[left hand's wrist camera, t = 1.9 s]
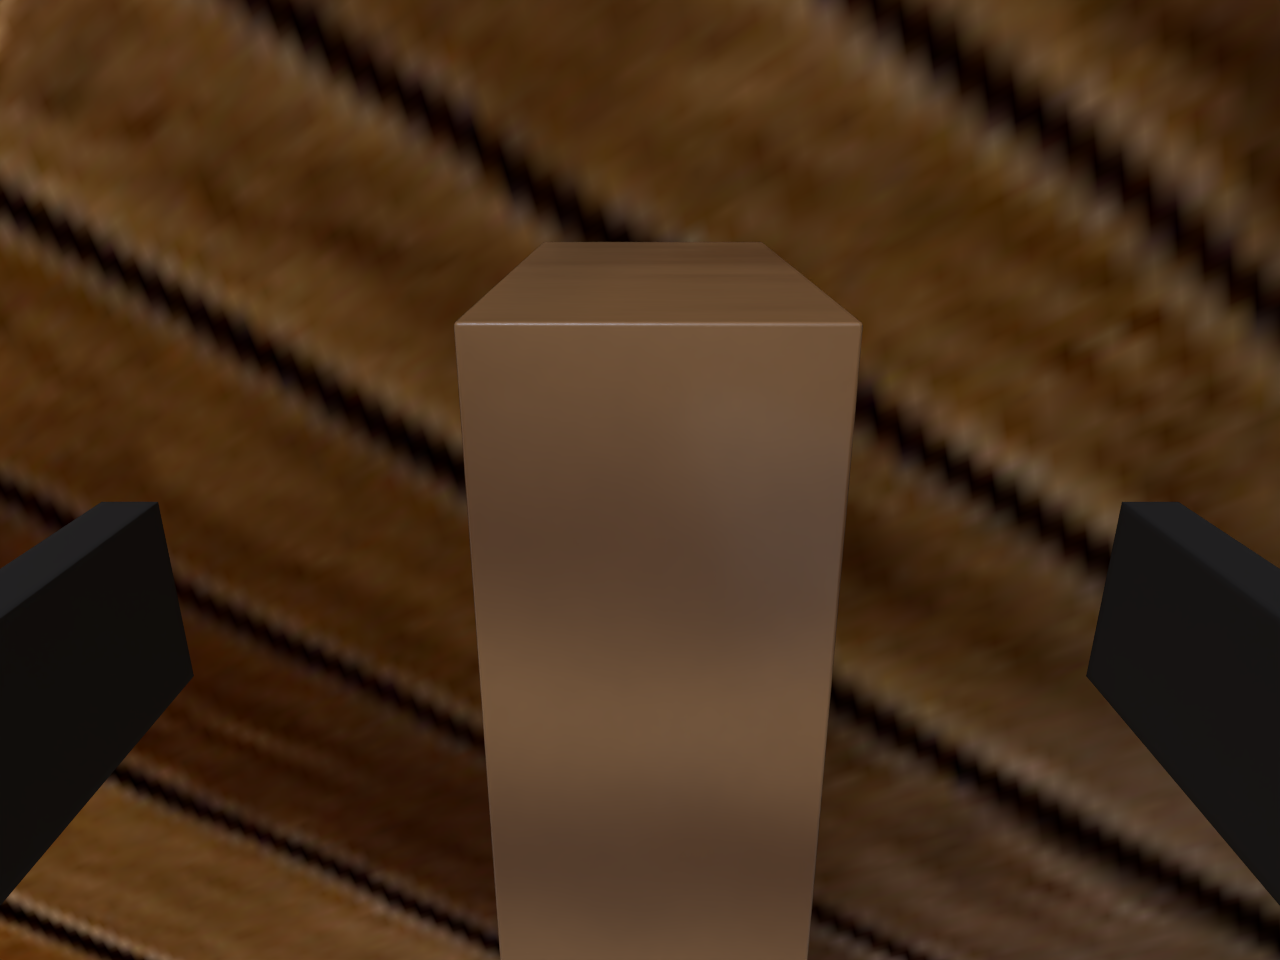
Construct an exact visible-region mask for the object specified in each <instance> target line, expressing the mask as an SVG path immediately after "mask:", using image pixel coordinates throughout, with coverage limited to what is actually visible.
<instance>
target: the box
mask: <svg viewBox="0 0 1280 960" xmlns="http://www.w3.org/2000/svg"><path fill="white" fill-rule="evenodd" d="M862 328H863V326H862V323H861V322H860V321H859V320H857V319H856V318H855V317H854V316H853V315H851V314H850V313H849V312H848V311H846V310H845V309H844V308H843V307H841V306H840V305H839V304H838V303H836V302H835V301H834V300H833V299H831V298H830V297H829V296H828V295H827V294H825V293H824V292H823V291H822V290H820V289H819V288H818V287H817V286H815V285H814V284H813V283H812V282H810V281H809V280H808V279H807V278H805V277H804V276H803V275H802V274H801V273H799V272H798V271H797V270H796V269H794V268H793V267H792V266H791V265H789V264H788V263H787V262H786V261H784V260H783V259H782V258H781V257H779V256H778V255H777V254H776V253H774V252H773V251H772V250H771V249H770V248H768V247H767V246H766V245H765V244H763V243H762V242H544V243H542V244H541V245H540V246H539V247H538V248H537V249H536V250H535V251H534V252H532V253H531V254H530V255H529V256H528V257H527V258H526V259H525V260H524V261H522V262H521V263H520V264H519V265H518V266H517V267H516V268H515V269H514V270H513V271H511V272H510V273H509V274H508V275H507V276H506V277H505V278H504V279H503V280H501V281H500V282H499V283H498V284H497V285H496V286H495V287H494V288H493V289H491V290H490V291H489V292H488V293H487V294H486V295H485V296H484V297H483V298H482V299H480V300H479V301H478V302H477V303H476V304H475V305H474V306H473V307H472V308H470V309H469V310H468V311H467V312H466V313H465V314H464V315H463V316H462V317H461V318H459V319H458V320H457V321H456V322H455V324H454V333H455V347H456V360H457V374H458V388H459V401H460V415H461V429H462V442H463V456H464V470H465V483H466V497H467V510H468V524H469V538H470V551H471V565H472V579H473V592H474V606H475V619H476V633H477V647H478V660H479V674H480V688H481V701H482V715H483V729H484V742H485V756H486V769H487V783H488V797H489V810H490V824H491V838H492V851H493V865H494V878H495V892H496V906H497V919H498V933H499V947H500V960H807V959H808V947H809V936H810V924H811V913H812V901H813V890H814V878H815V867H816V855H817V844H818V832H819V821H820V810H821V798H822V787H823V775H824V764H825V752H826V741H827V729H828V718H829V706H830V695H831V684H832V672H833V661H834V649H835V638H836V626H837V615H838V603H839V592H840V580H841V569H842V557H843V546H844V535H845V523H846V512H847V500H848V489H849V477H850V466H851V454H852V443H853V431H854V420H855V408H856V397H857V386H858V374H859V363H860V351H861V340H862Z"/></svg>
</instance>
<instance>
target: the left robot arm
mask: <svg viewBox="0 0 1280 960" xmlns="http://www.w3.org/2000/svg"><path fill="white" fill-rule="evenodd" d="M193 676H194V675H193V670H192V665H191V661H190V656H189V651H188V646H187V641H186V636H185V631H184V626H183V622H182V617H181V612H180V607H179V602H178V597H177V592H176V587H175V583H174V578H173V573H172V568H171V563H170V558H169V553H168V549H167V544H166V539H165V534H164V529H163V524H162V519H161V514H160V510H159V505H158V502H101V503H99V504H98V505H96V506H95V507H93V508H92V509H90V510H89V511H87V512H86V513H84V514H83V515H81V516H80V517H78V518H77V519H75V520H74V521H72V522H71V523H69V524H68V525H66V526H65V527H63V528H62V529H60V530H59V531H57V532H56V533H54V534H53V535H51V536H50V537H48V538H47V539H45V540H43V541H42V542H40V543H39V544H37V545H36V546H34V547H33V548H31V549H30V550H28V551H27V552H25V553H24V554H22V555H21V556H19V557H18V558H16V559H15V560H13V561H12V562H10V563H9V564H7V565H6V566H4V567H3V568H1V569H0V905H1V904H2V903H3V902H4V900H5V899H6V898H7V897H8V896H9V894H10V893H11V892H12V891H13V890H14V889H15V887H16V886H17V885H18V884H19V883H20V881H21V880H22V879H23V878H24V877H25V876H26V874H27V873H28V872H29V871H30V870H31V868H32V867H33V866H34V865H35V864H36V862H37V861H38V860H39V859H40V858H41V857H42V855H43V854H44V853H45V852H46V851H47V849H48V848H49V847H50V846H51V845H52V843H53V842H54V841H55V840H56V839H57V838H58V836H59V835H60V834H61V833H62V832H63V830H64V829H65V828H66V827H67V826H68V824H69V823H70V822H71V821H72V820H73V819H74V817H75V816H76V815H77V814H78V813H79V811H80V810H81V809H82V808H83V807H84V805H85V804H86V803H87V802H88V801H89V800H90V798H91V797H92V796H93V795H94V794H95V792H96V791H97V790H98V789H99V788H100V787H101V785H102V784H103V783H104V782H105V781H106V779H107V778H108V777H109V776H110V775H111V773H112V772H113V771H114V770H115V769H116V768H117V766H118V765H119V764H120V763H121V762H122V760H123V759H124V758H125V757H126V756H127V754H128V753H129V752H130V751H131V750H132V749H133V747H134V746H135V745H136V744H137V743H138V741H139V740H140V739H141V738H142V737H143V735H144V734H145V733H146V732H147V731H148V730H149V728H150V727H151V726H152V725H153V724H154V722H155V721H156V720H157V719H158V718H159V717H160V715H161V714H162V713H163V712H164V711H165V709H166V708H167V707H168V706H169V705H170V703H171V702H172V701H173V700H174V699H175V698H176V696H177V695H178V694H179V693H180V692H181V690H182V689H183V688H184V687H185V686H186V684H187V683H188V682H189V681H190V680H191V679H192V677H193ZM1086 676H1087V677H1088V679H1089V680H1090V681H1091V682H1092V683H1093V684H1094V686H1095V687H1096V688H1097V689H1098V690H1099V692H1100V693H1101V694H1102V695H1103V696H1104V698H1105V699H1106V700H1107V701H1108V702H1109V703H1110V705H1111V706H1112V707H1113V708H1114V709H1115V711H1116V712H1117V713H1118V714H1119V715H1120V717H1121V718H1122V719H1123V720H1124V721H1125V722H1126V724H1127V725H1128V726H1129V727H1130V728H1131V730H1132V731H1133V732H1134V733H1135V734H1136V735H1137V737H1138V738H1139V739H1140V740H1141V741H1142V743H1143V744H1144V745H1145V746H1146V747H1147V749H1148V750H1149V751H1150V752H1151V753H1152V754H1153V756H1154V757H1155V758H1156V759H1157V760H1158V762H1159V763H1160V764H1161V765H1162V766H1163V768H1164V769H1165V770H1166V771H1167V772H1168V773H1169V775H1170V776H1171V777H1172V778H1173V779H1174V781H1175V782H1176V783H1177V784H1178V785H1179V787H1180V788H1181V789H1182V790H1183V791H1184V792H1185V794H1186V795H1187V796H1188V797H1189V798H1190V800H1191V801H1192V802H1193V803H1194V804H1195V806H1196V807H1197V808H1198V809H1199V810H1200V811H1201V813H1202V814H1203V815H1204V816H1205V817H1206V819H1207V820H1208V821H1209V822H1210V823H1211V824H1212V826H1213V827H1214V828H1215V829H1216V830H1217V832H1218V833H1219V834H1220V835H1221V836H1222V838H1223V839H1224V840H1225V841H1226V842H1227V843H1228V845H1229V846H1230V847H1231V848H1232V849H1233V851H1234V852H1235V853H1236V854H1237V855H1238V857H1239V858H1240V859H1241V860H1242V861H1243V862H1244V864H1245V865H1246V866H1247V867H1248V868H1249V870H1250V871H1251V872H1252V873H1253V874H1254V876H1255V877H1256V878H1257V879H1258V880H1259V881H1260V883H1261V884H1262V885H1263V886H1264V887H1265V889H1266V890H1267V891H1268V892H1269V893H1270V894H1271V896H1272V897H1273V898H1274V899H1275V900H1276V902H1277V903H1278V904H1279V905H1280V569H1279V568H1277V567H1276V566H1274V565H1273V564H1271V563H1270V562H1268V561H1267V560H1265V559H1264V558H1262V557H1261V556H1259V555H1258V554H1256V553H1255V552H1253V551H1252V550H1250V549H1249V548H1247V547H1246V546H1244V545H1243V544H1241V543H1240V542H1238V541H1237V540H1235V539H1233V538H1232V537H1230V536H1229V535H1227V534H1226V533H1224V532H1223V531H1221V530H1220V529H1218V528H1217V527H1215V526H1214V525H1212V524H1211V523H1209V522H1208V521H1206V520H1205V519H1203V518H1202V517H1200V516H1199V515H1197V514H1196V513H1194V512H1193V511H1191V510H1190V509H1188V508H1187V507H1185V506H1184V505H1182V504H1181V503H1179V502H1122V505H1121V510H1120V514H1119V519H1118V524H1117V529H1116V534H1115V539H1114V544H1113V548H1112V553H1111V558H1110V563H1109V568H1108V573H1107V578H1106V583H1105V587H1104V592H1103V597H1102V602H1101V607H1100V612H1099V617H1098V622H1097V626H1096V631H1095V636H1094V641H1093V646H1092V651H1091V656H1090V661H1089V665H1088V670H1087V675H1086Z"/></svg>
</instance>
